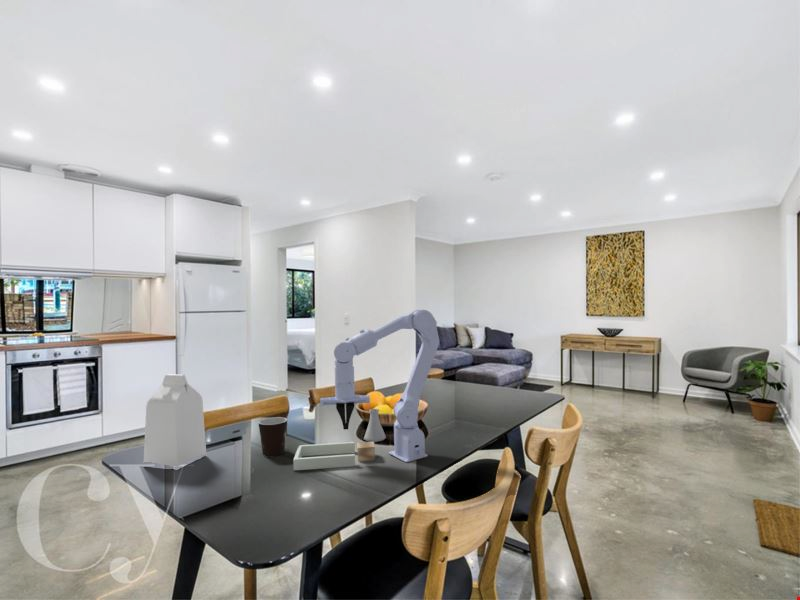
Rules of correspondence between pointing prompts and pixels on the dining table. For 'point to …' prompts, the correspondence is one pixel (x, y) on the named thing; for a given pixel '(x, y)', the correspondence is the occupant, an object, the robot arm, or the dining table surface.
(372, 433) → the flask
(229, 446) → the dining table surface
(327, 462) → the white tray
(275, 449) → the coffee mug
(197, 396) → the milk
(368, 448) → the oak block
